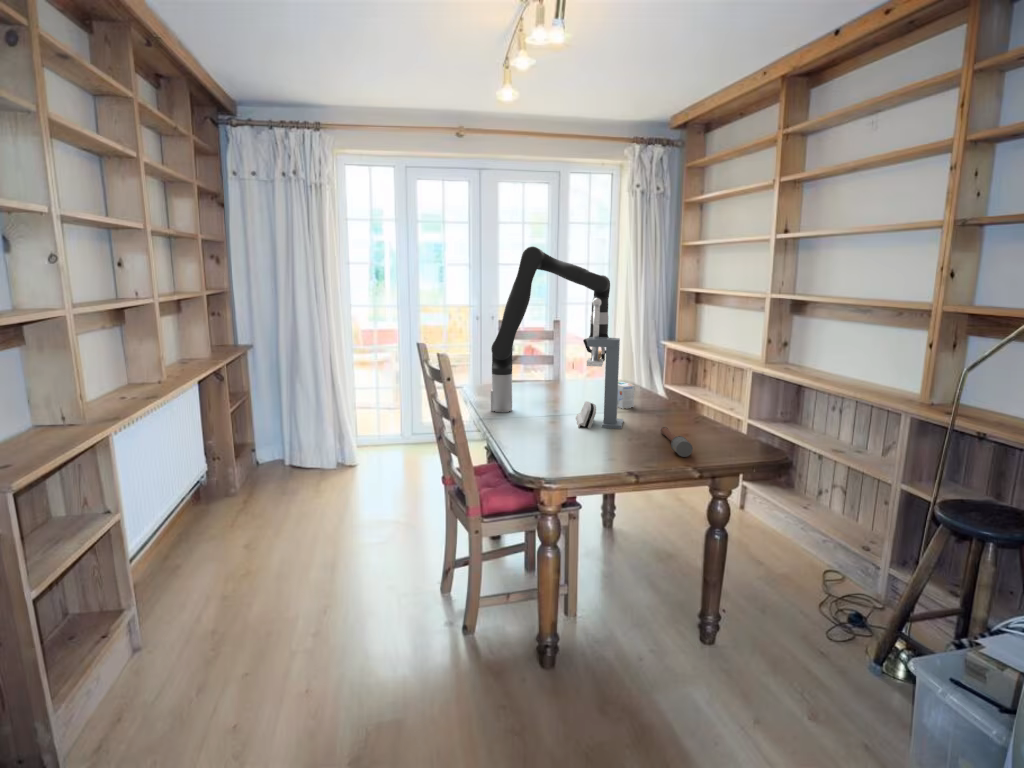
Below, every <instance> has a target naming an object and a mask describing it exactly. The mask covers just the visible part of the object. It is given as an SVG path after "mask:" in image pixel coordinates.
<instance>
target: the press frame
mask: <svg viewBox="0 0 1024 768" xmlns="http://www.w3.org/2000/svg"><path fill="white" fill-rule="evenodd" d="M588 338H589V339H588V342H587V347H590V348H591V347H599V348H601V347H605V350H606V354H605V369H604V370H605V372H604V374H605V375H604V376H605V378H604V399H603V400H604V403H603V420H602V423H601V428H602V429H614V428H615V429H617V430H622V428H623V425H624V419H623V418H617V417H618V407H617V399H618V382H619V374H620V373H619V368H620V366H619V364H620V347H621V346H620V344H621V342H620V340H621V339H620V337H609V338H602V337H599V339H593V337H589V336H588ZM615 429H614V430H615Z"/></svg>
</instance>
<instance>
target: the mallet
mask: <svg viewBox="0 0 1024 768" xmlns="http://www.w3.org/2000/svg"><path fill="white" fill-rule="evenodd" d="M660 434H661V435H663V436H665V437H666V438H667V439H668V440H669V441H670V447H671V449H672V451H673V452H675V453H676V454H677V455H678V456H679V457H681V458H687V457H690V456H691V455H692V453H693V449H694V448H693V445H692V444H691V443H690V442H689V441H688V440H687V438H686V437H684V436H682V435H678V436H675V435H674V434H673V433H672V432H671V431H670V430H669V429H668V427H666V426H663V427H661V429H660Z"/></svg>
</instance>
